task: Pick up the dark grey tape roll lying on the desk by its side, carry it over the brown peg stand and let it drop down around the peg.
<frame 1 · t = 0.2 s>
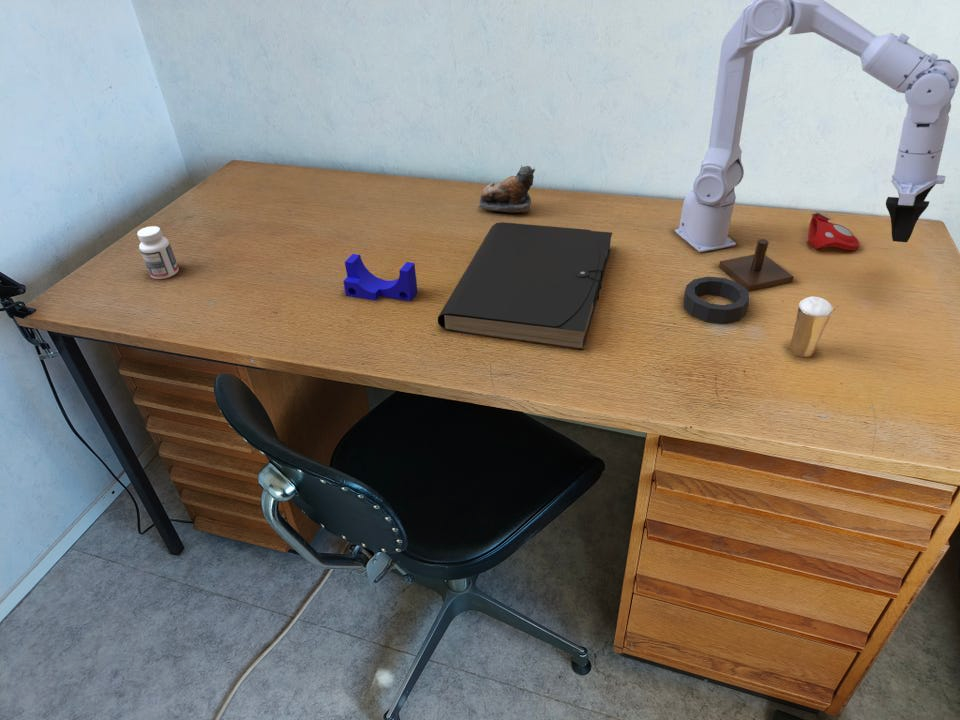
hand: (903, 231, 108), 10 cm above the table, tool pointing down, fingers open, 7 cm apart
brown peg stand: (754, 274, 119), on the table
dark grey book: (532, 287, 118), on the table
pill bottle: (165, 273, 126), on the table
milkshake: (802, 353, 101), on the table
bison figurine: (506, 210, 143), on the table
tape: (714, 306, 111), on the table
blue cradle bracket: (381, 294, 118), on the table
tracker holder: (828, 240, 128), on the table
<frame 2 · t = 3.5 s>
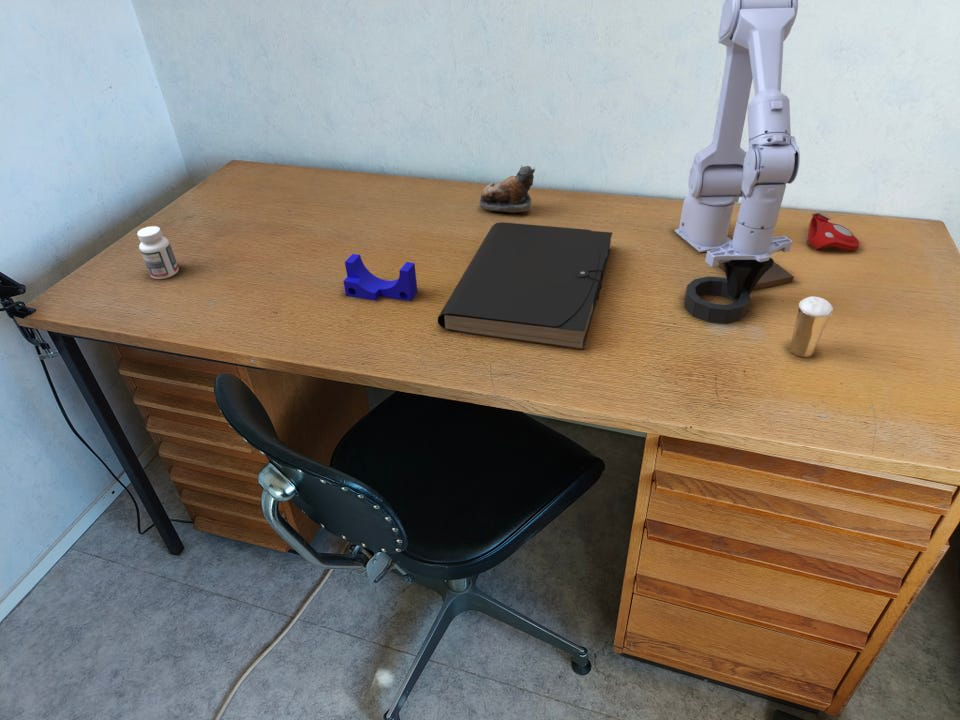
hand: (738, 294, 111), 1 cm above the table, tool pointing down, fingers closed on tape, 2 cm apart
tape: (714, 306, 111), on the table, touching gripper
everything else where it was.
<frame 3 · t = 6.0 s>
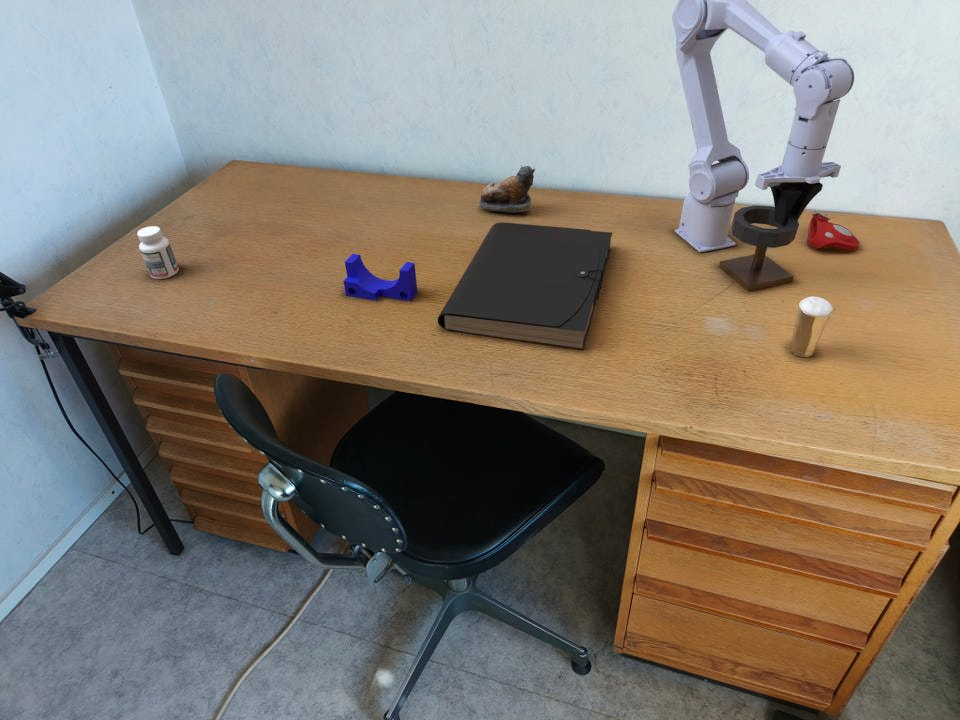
hand: (785, 221, 113), 10 cm above the table, tool pointing down, fingers closed on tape
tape: (762, 233, 112), point 9 cm above the table, touching gripper
everything else where it was.
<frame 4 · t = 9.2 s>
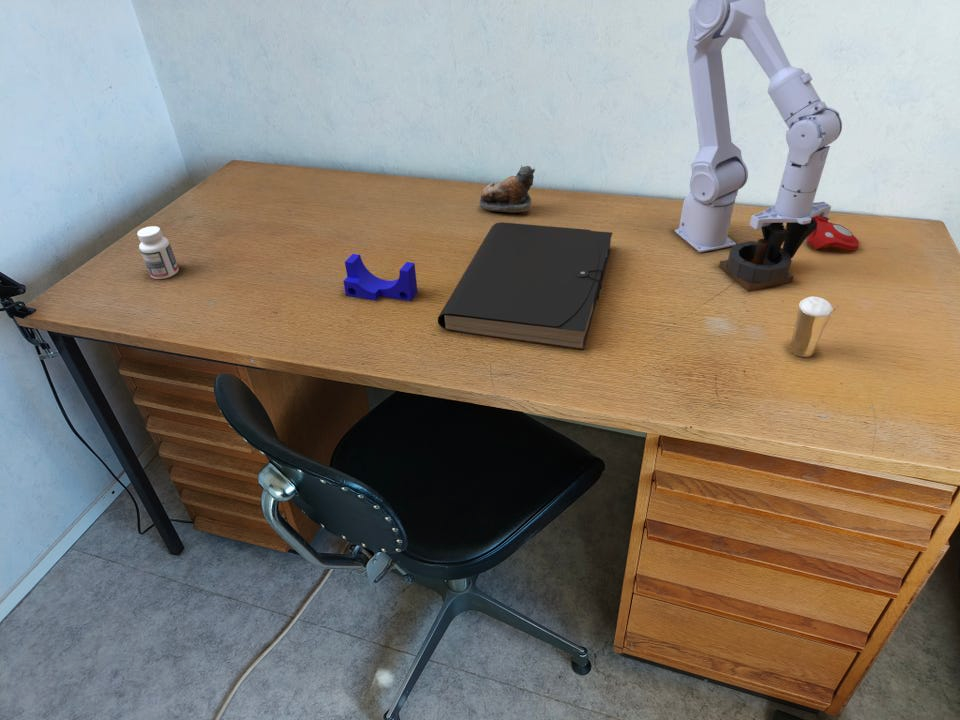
hand: (778, 257, 118), 3 cm above the table, tool pointing down, fingers open, 3 cm apart
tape: (756, 268, 118), point 1 cm above the table, touching brown peg stand
everything else where it was.
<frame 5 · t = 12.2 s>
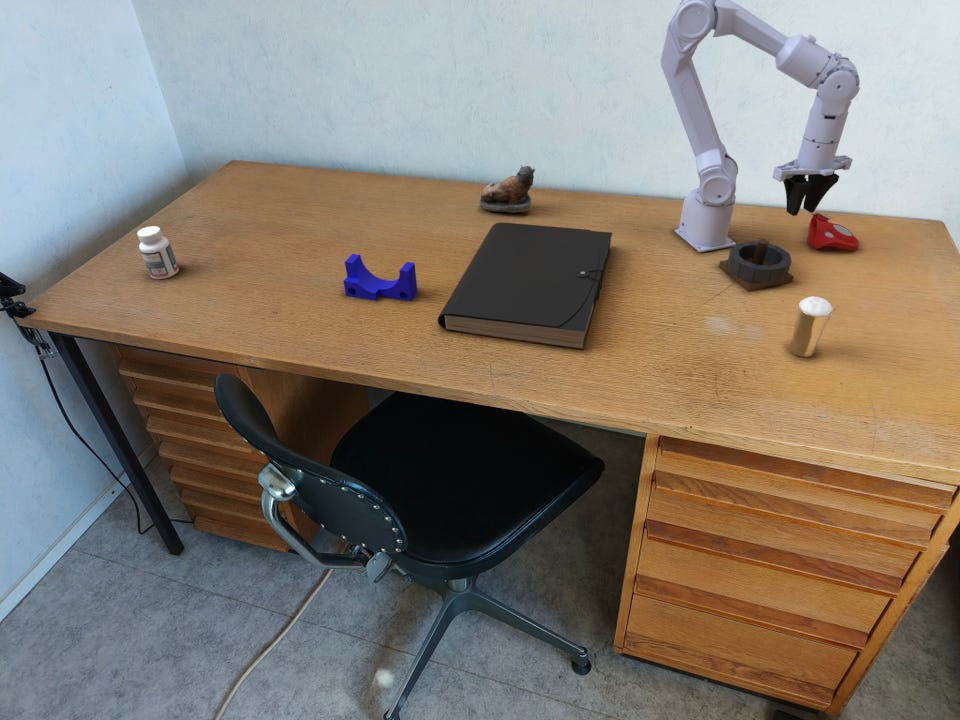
hand: (799, 212, 120), 8 cm above the table, tool pointing down, fingers open, 3 cm apart
nothing on the table moved.
at the end: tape 0.1 cm from the brown peg stand (horizontally); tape point 1.2 cm above the table; the gripper is holding nothing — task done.
